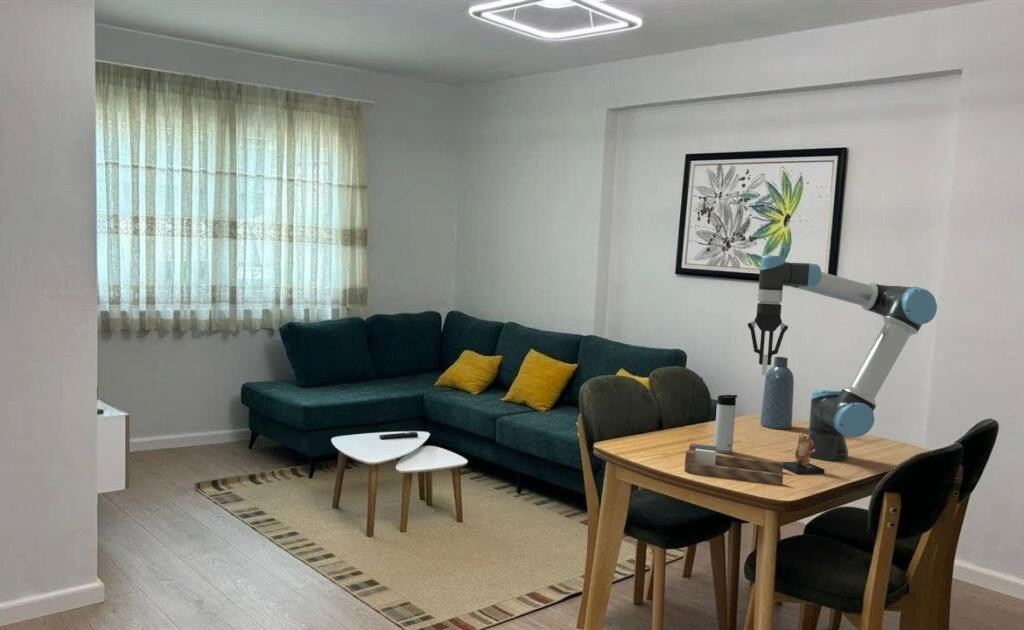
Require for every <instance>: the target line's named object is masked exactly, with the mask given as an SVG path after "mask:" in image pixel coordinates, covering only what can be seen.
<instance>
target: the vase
mask: <svg viewBox="0 0 1024 630" xmlns="http://www.w3.org/2000/svg"><path fill="white" fill-rule="evenodd" d="M788 360H789V358H788V357H784V356H775V357H774V360H773V361H774V362H773V366H771V367H770V368H769V369H767V375H766V376H765V380H764V387H763V395H762V397H763V398H762V405H761V412H760V413H761V415H760V422H759V423H760V426H762V427H764V426H765V427H764V428H767V427H768V428H769V429H772V428H774V430H789V428H790V429H791V428H792V427H793V410H794V409H793V408H794V407H793V405H794V403H793V402H794V387H795V386H794V385H795V384H794V382H795V379H794V374H793V372H792V370H791V369H790V368H789V367H788V363H789V362H788Z"/></svg>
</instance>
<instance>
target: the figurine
mask: <svg viewBox="0 0 1024 630" xmlns="http://www.w3.org/2000/svg"><path fill="white" fill-rule="evenodd" d="M807 435H808V434H804V433H803V432H800V433H799V435H798V439H797V446H796V449H795V452H794V456H795V460H794V461H780V462H781V463H783V470H786V471H788V472H790V473H792V474H795V475H797V476H799V475H824V474H825V471H826V470H825V468H822V467H820V466H817V465H815V464H813V463H811V459H810V458H811V457H809V456H810V453H812V452H814V451H816V450H815V449H813V450H812V448H813V447H814V442H813V440H812V439H811V438H810V437H809V435H808V436H807ZM811 450H812V451H811Z"/></svg>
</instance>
